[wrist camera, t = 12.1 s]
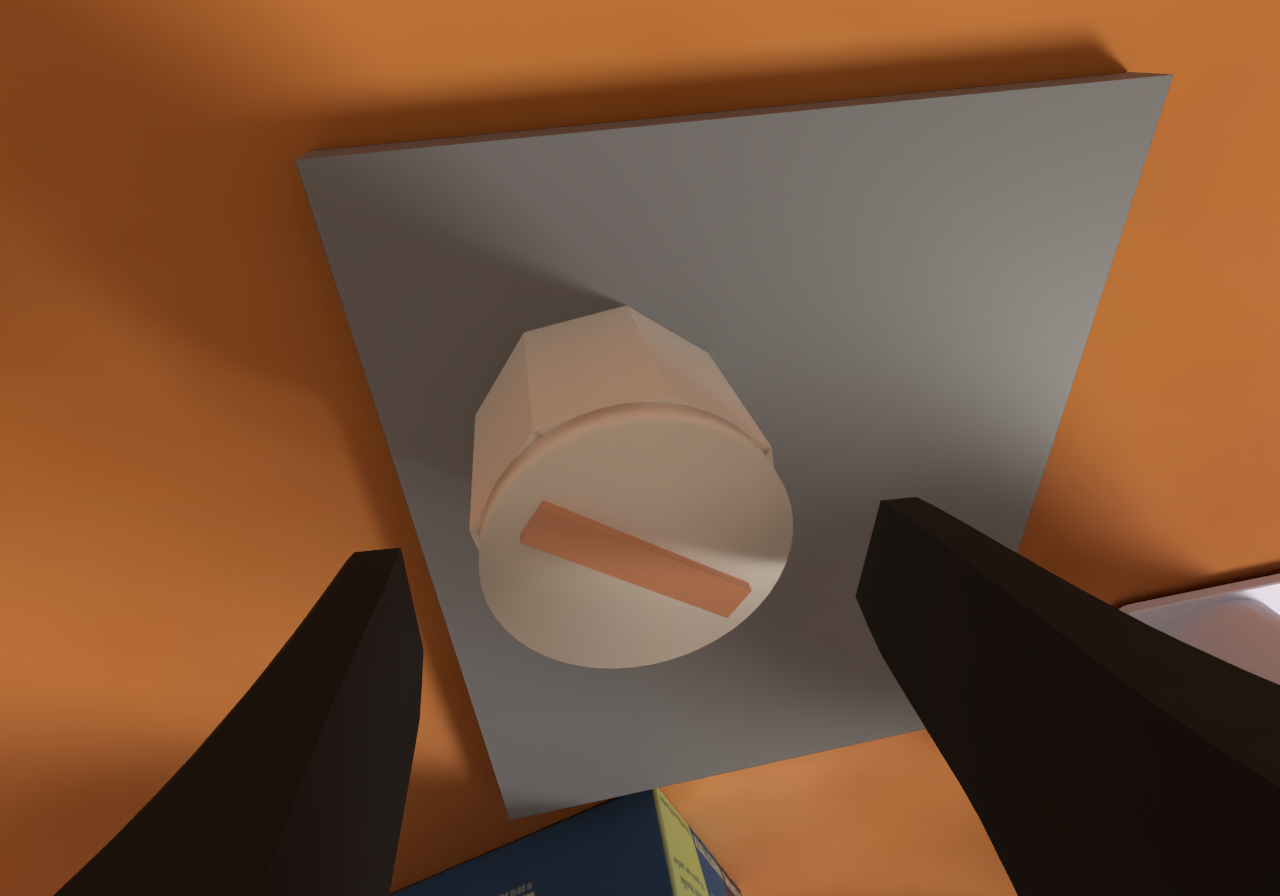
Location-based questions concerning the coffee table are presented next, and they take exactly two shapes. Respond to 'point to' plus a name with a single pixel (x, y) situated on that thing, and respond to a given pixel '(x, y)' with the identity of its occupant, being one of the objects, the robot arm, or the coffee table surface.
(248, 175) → the coffee table surface
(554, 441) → the cap
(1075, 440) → the coffee table surface
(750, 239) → the base
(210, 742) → the robot arm
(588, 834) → the protein box
